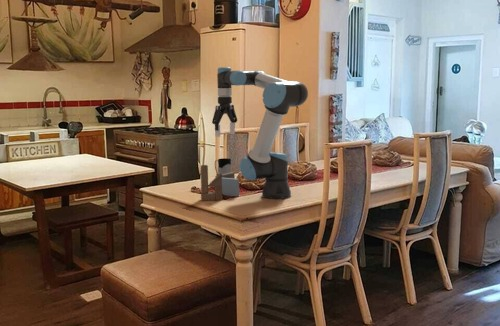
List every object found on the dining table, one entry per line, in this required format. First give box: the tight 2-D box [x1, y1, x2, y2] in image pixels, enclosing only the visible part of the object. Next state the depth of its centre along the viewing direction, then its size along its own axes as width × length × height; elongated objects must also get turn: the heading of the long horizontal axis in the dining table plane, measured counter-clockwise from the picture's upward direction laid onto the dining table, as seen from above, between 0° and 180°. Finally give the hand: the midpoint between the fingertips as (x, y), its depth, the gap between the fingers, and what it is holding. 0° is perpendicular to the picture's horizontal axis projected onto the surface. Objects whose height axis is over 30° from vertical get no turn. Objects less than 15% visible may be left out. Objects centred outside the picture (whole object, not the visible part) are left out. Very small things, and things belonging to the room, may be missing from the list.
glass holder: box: [214, 158, 232, 175], centre depth 311 cm, size 9×14×15 cm, turn 39°
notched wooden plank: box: [214, 171, 236, 179], centre depth 286 cm, size 2×15×11 cm, turn 144°
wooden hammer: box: [200, 164, 223, 202], centre depth 267 cm, size 4×11×18 cm, turn 96°
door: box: [222, 178, 240, 197], centre depth 278 cm, size 3×12×9 cm, turn 62°
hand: (225, 135), depth 286 cm, fingers open, 13 cm apart
